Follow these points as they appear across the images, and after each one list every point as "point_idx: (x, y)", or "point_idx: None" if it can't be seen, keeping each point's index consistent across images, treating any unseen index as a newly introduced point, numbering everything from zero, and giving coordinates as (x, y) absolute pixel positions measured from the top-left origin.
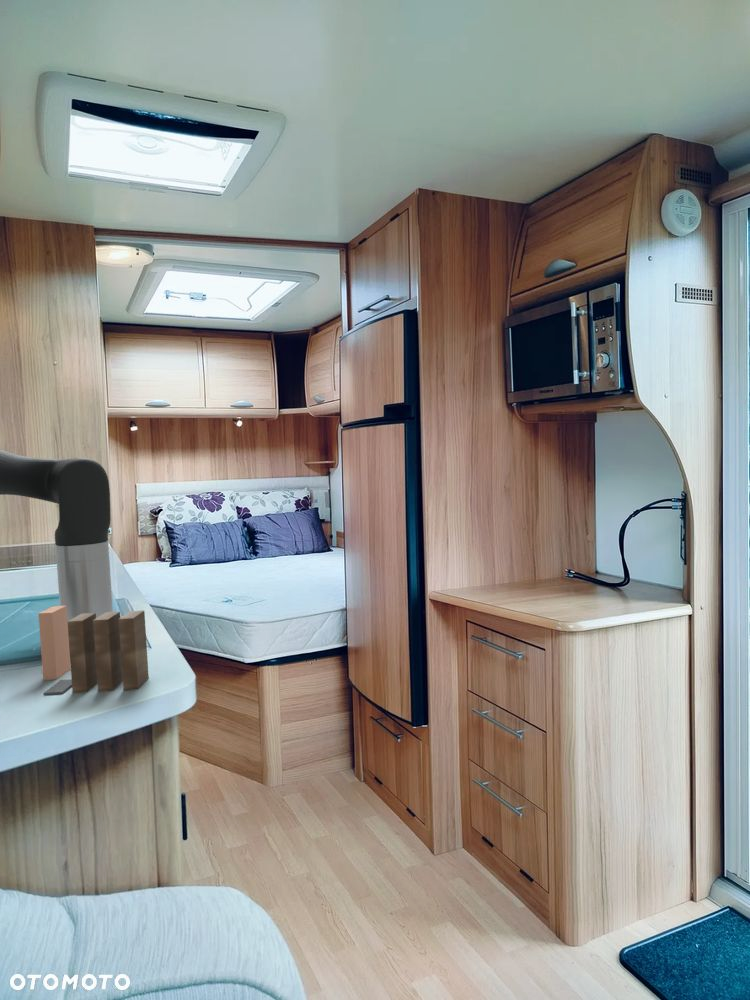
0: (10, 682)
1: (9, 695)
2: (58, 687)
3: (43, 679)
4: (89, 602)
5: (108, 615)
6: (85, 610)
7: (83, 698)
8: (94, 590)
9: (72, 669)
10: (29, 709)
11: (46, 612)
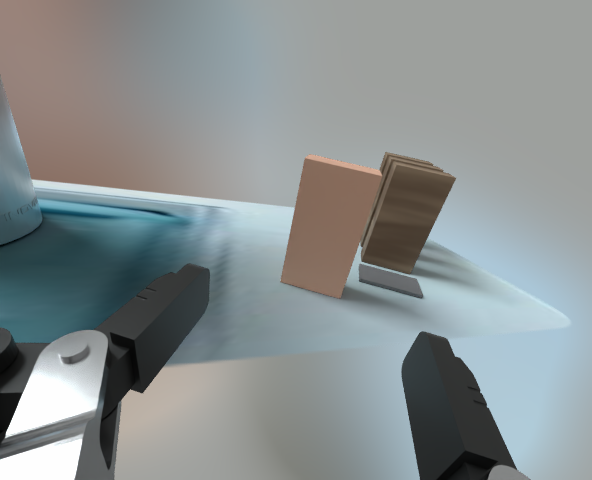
0: (340, 345)
1: None
2: (397, 281)
3: (340, 297)
4: (10, 147)
5: (413, 162)
6: (10, 169)
7: (429, 268)
8: (8, 112)
9: (422, 245)
10: (483, 311)
11: (376, 171)
